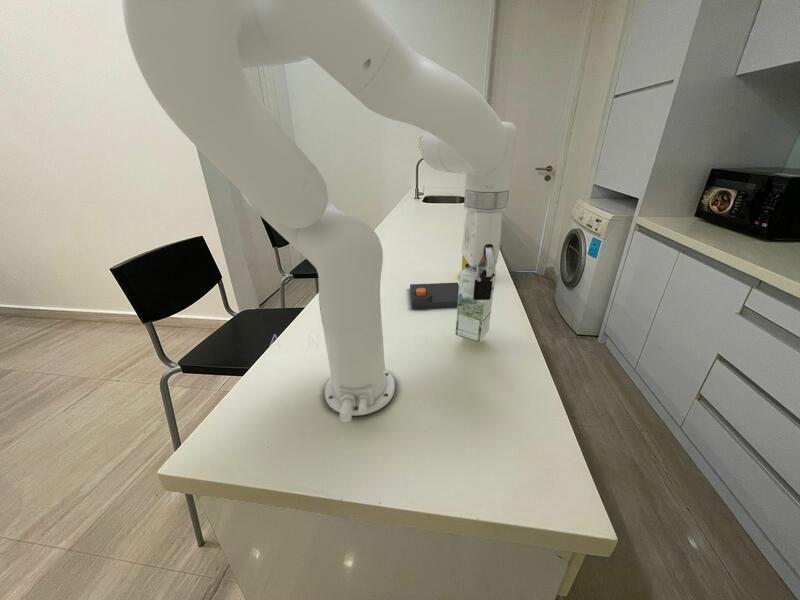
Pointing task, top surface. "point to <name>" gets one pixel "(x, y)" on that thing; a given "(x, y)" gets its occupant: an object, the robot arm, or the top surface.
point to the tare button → (421, 292)
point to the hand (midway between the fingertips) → (476, 289)
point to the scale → (435, 295)
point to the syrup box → (472, 307)
